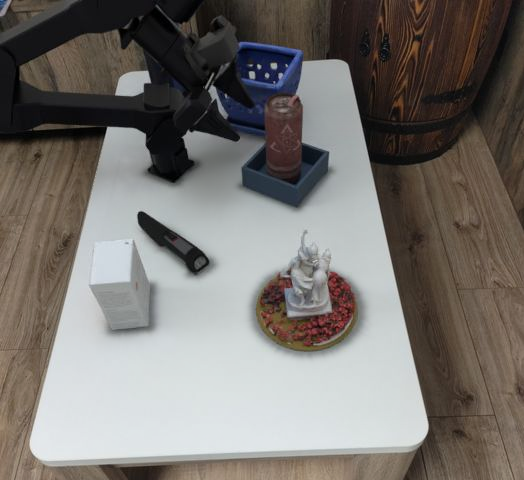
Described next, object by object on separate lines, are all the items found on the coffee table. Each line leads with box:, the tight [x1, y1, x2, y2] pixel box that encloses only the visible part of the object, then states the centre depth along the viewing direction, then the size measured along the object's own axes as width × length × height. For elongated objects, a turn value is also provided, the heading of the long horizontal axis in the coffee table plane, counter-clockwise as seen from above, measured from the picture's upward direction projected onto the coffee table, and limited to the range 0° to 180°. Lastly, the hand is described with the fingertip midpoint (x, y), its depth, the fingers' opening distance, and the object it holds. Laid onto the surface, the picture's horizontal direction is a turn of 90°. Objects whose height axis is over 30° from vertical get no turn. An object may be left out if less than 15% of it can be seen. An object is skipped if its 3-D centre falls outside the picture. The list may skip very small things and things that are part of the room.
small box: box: [88, 238, 151, 331], centre depth 71 cm, size 8×6×10 cm
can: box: [264, 93, 304, 184], centre depth 84 cm, size 6×6×14 cm
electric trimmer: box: [136, 210, 211, 275], centre depth 81 cm, size 4×16×3 cm, turn 45°
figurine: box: [255, 228, 359, 352], centre depth 68 cm, size 15×15×14 cm
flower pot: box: [214, 41, 304, 138], centre depth 94 cm, size 13×13×12 cm
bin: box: [240, 142, 330, 208], centre depth 88 cm, size 11×11×4 cm
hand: (246, 123), depth 82 cm, fingers open, 9 cm apart
